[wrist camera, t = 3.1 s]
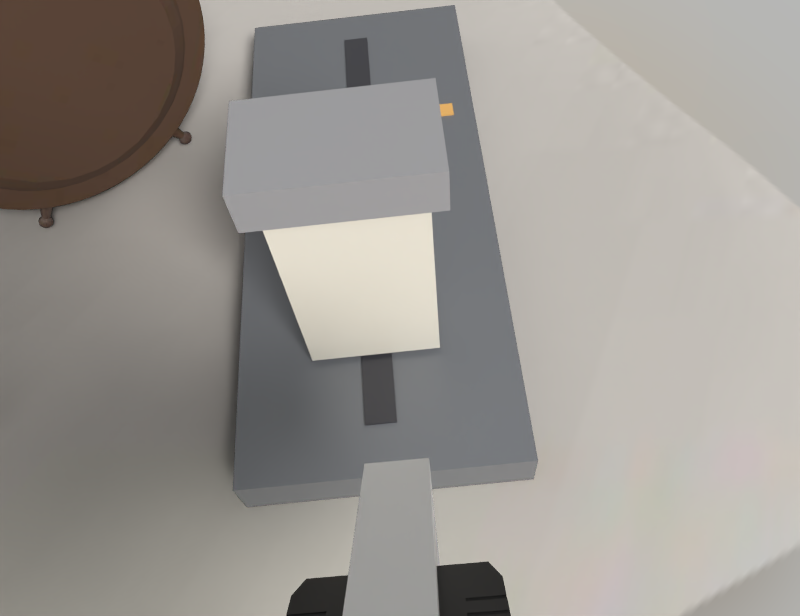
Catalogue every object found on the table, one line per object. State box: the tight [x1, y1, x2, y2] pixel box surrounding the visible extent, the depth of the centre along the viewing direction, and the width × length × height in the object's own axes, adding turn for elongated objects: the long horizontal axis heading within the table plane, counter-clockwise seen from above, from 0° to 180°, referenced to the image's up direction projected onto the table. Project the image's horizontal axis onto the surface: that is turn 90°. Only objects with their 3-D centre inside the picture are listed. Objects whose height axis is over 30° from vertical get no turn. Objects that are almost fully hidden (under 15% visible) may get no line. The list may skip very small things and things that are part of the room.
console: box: [233, 5, 538, 507], centre depth 34 cm, size 11×26×2 cm, turn 4°
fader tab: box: [222, 78, 450, 361], centre depth 25 cm, size 6×4×11 cm, turn 94°
